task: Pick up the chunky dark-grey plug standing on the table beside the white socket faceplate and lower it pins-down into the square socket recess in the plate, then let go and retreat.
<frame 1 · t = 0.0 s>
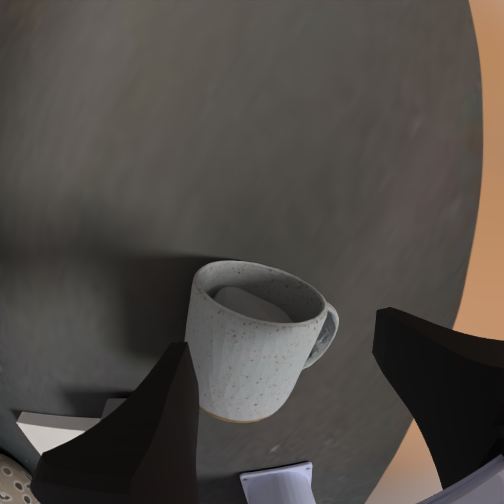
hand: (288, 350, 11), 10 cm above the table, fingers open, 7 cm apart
socket: (88, 452, 25), on the table
ceramic mug: (260, 312, 22), on the table
ornament: (14, 462, 26), on the table
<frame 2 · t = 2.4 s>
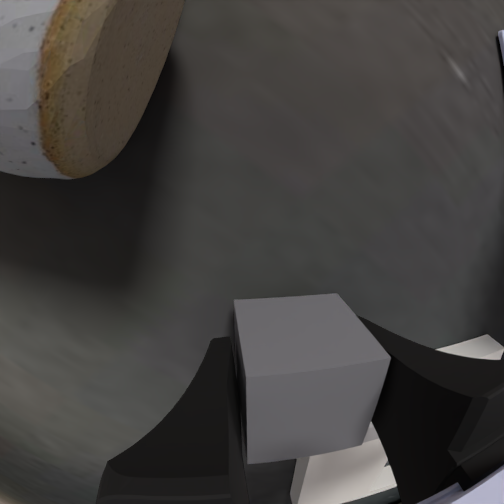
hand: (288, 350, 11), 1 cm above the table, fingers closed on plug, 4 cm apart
socket: (390, 428, 16), on the table
ceramic mug: (79, 33, 8), on the table
plug: (280, 330, 12), on the table, touching gripper
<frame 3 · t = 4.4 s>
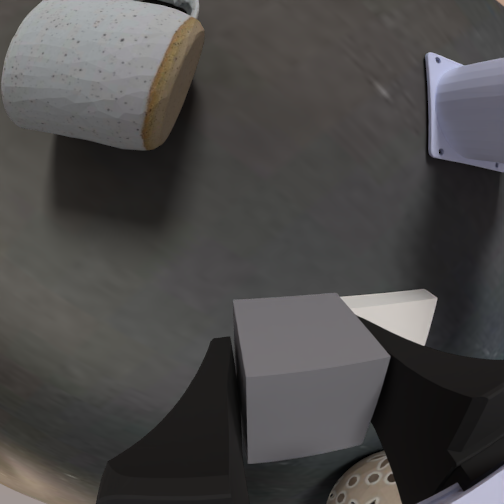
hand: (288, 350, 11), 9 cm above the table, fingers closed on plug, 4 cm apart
socket: (347, 363, 23), on the table
ceramic mug: (131, 63, 15), on the table
ornament: (368, 461, 29), on the table
plug: (280, 330, 12), point 7 cm above the table, touching gripper
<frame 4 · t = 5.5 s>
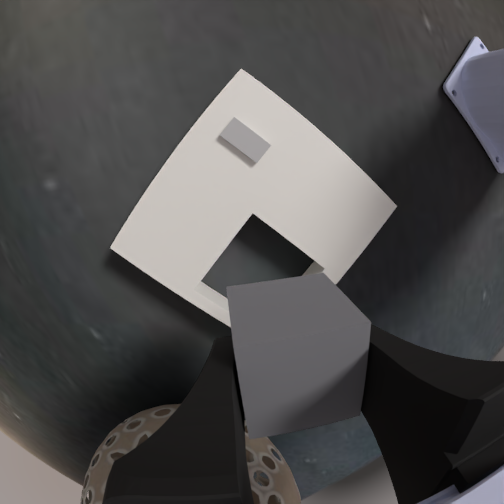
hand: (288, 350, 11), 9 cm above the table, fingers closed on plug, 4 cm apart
socket: (256, 217, 19), on the table
ornament: (192, 425, 23), on the table
plug: (275, 314, 13), point 7 cm above the table, touching gripper
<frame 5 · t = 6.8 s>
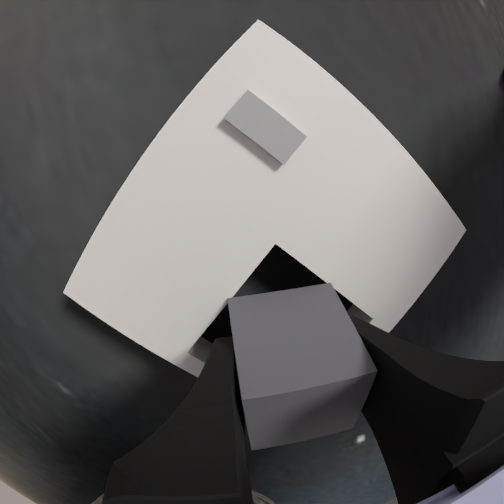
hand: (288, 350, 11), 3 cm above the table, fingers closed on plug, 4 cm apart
socket: (277, 245, 13), on the table
plug: (276, 314, 13), point 1 cm above the table, tilted 14°, touching gripper, socket
when the fingers open (3 cm above the table, at t = 7.5 s): plug stays where it is, resting on socket.
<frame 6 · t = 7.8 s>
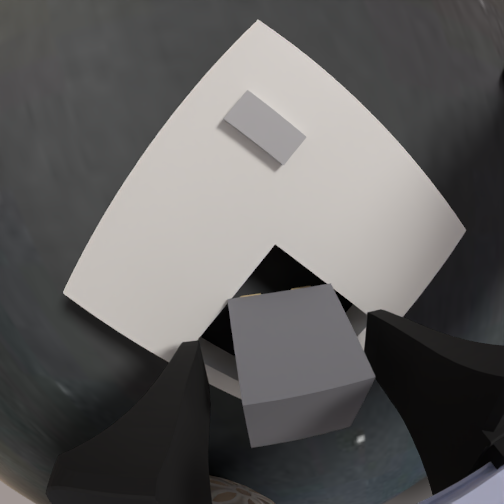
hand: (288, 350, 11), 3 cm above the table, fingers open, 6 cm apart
socket: (276, 245, 13), on the table
ornament: (190, 483, 17), on the table
plug: (276, 312, 13), point 1 cm above the table, tilted 18°, touching socket
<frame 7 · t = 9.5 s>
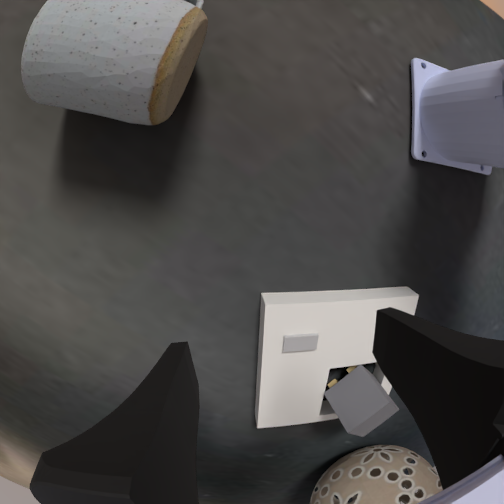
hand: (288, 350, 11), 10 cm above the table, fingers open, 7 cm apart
socket: (330, 356, 24), on the table
ceramic mug: (138, 50, 16), on the table
ornament: (353, 457, 30), on the table
plug: (345, 377, 24), point 1 cm above the table, tilted 18°, touching socket
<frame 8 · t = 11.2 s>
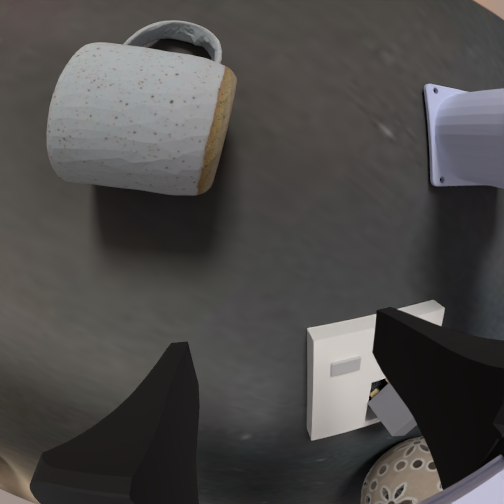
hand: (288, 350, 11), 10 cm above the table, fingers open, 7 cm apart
socket: (370, 370, 25), on the table
ceramic mug: (159, 105, 17), on the table
ornament: (395, 450, 31), on the table
plug: (384, 385, 26), point 1 cm above the table, tilted 18°, touching socket
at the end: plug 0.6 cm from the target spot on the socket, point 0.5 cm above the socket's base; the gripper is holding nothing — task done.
